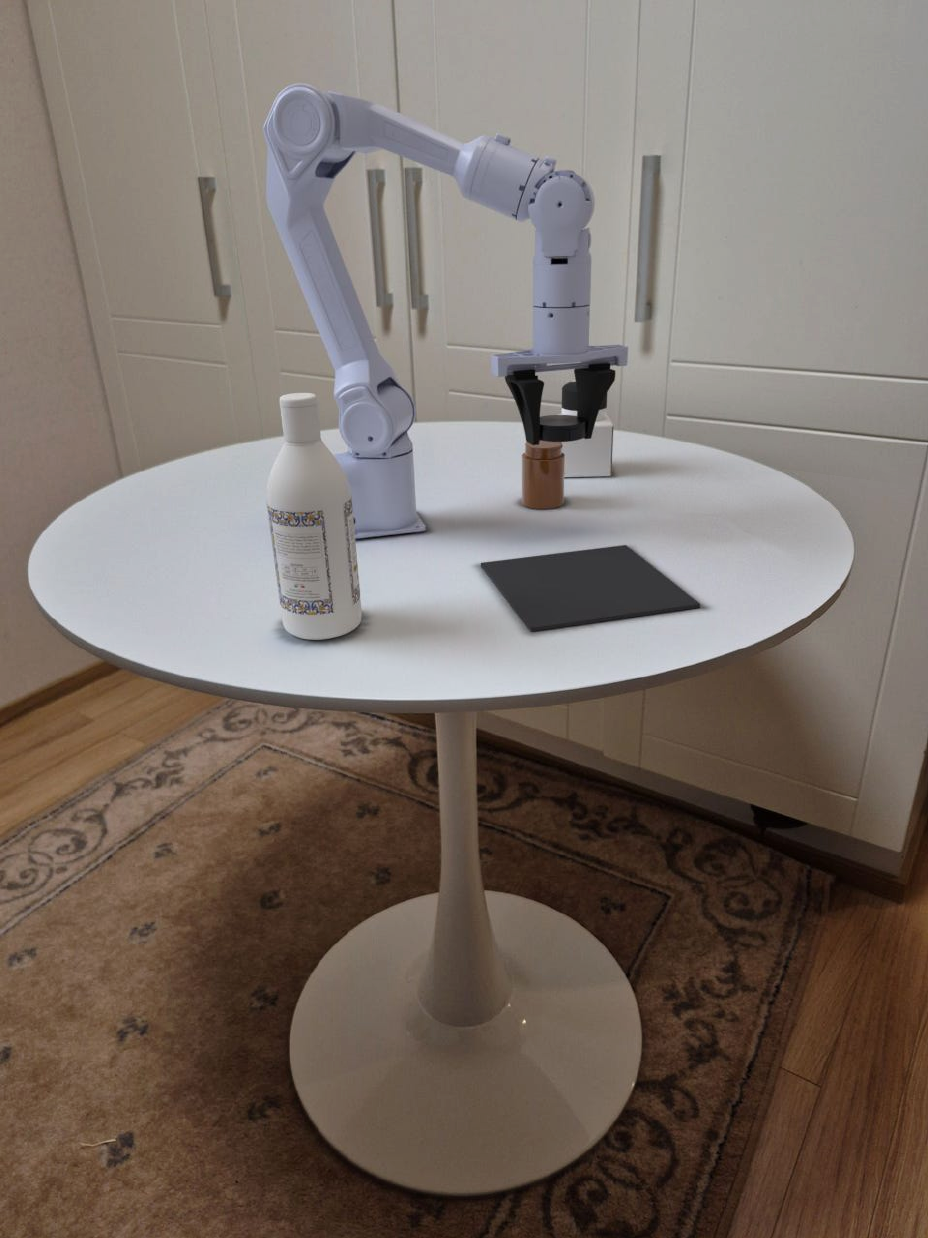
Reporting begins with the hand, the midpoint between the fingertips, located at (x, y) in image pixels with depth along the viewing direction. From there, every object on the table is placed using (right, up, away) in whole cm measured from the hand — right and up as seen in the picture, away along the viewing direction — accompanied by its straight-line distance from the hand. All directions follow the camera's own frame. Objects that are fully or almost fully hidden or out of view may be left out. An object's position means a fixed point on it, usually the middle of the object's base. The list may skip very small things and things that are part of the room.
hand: (559, 439), depth 92 cm
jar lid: (0, +2, -1) cm, 2 cm away
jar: (0, -5, +14) cm, 15 cm away
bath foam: (-23, -20, -16) cm, 34 cm away
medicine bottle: (+6, +1, +27) cm, 28 cm away
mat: (+1, -16, -10) cm, 19 cm away
